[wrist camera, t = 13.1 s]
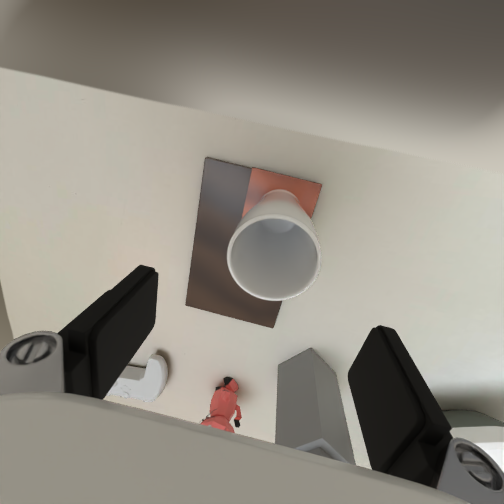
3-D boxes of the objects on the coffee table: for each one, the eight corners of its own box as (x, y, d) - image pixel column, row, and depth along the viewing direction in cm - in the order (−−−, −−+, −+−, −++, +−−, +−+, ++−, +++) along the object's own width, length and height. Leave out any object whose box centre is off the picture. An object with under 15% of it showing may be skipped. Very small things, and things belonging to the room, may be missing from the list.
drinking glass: (315, 191, 30) (340, 231, 16) (295, 242, 32) (302, 313, 19) (260, 174, 30) (238, 200, 16) (245, 227, 33) (216, 286, 19)
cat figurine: (222, 368, 44) (201, 441, 33) (255, 386, 45) (245, 464, 34) (204, 389, 47) (179, 464, 36) (235, 406, 48) (220, 484, 37)
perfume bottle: (311, 347, 40) (328, 488, 24) (336, 373, 41) (368, 524, 25) (278, 365, 42) (272, 505, 26) (302, 389, 44) (312, 536, 27)
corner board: (207, 155, 31) (204, 155, 30) (321, 183, 30) (322, 184, 29) (187, 302, 40) (184, 306, 39) (274, 325, 39) (274, 329, 38)
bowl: (366, 391, 42) (384, 446, 34) (530, 379, 37) (593, 440, 29) (378, 470, 50) (395, 530, 42) (515, 469, 45) (563, 536, 37)
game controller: (162, 362, 41) (160, 414, 43) (173, 347, 45) (171, 395, 47) (79, 349, 42) (82, 400, 44) (98, 336, 47) (99, 383, 49)
